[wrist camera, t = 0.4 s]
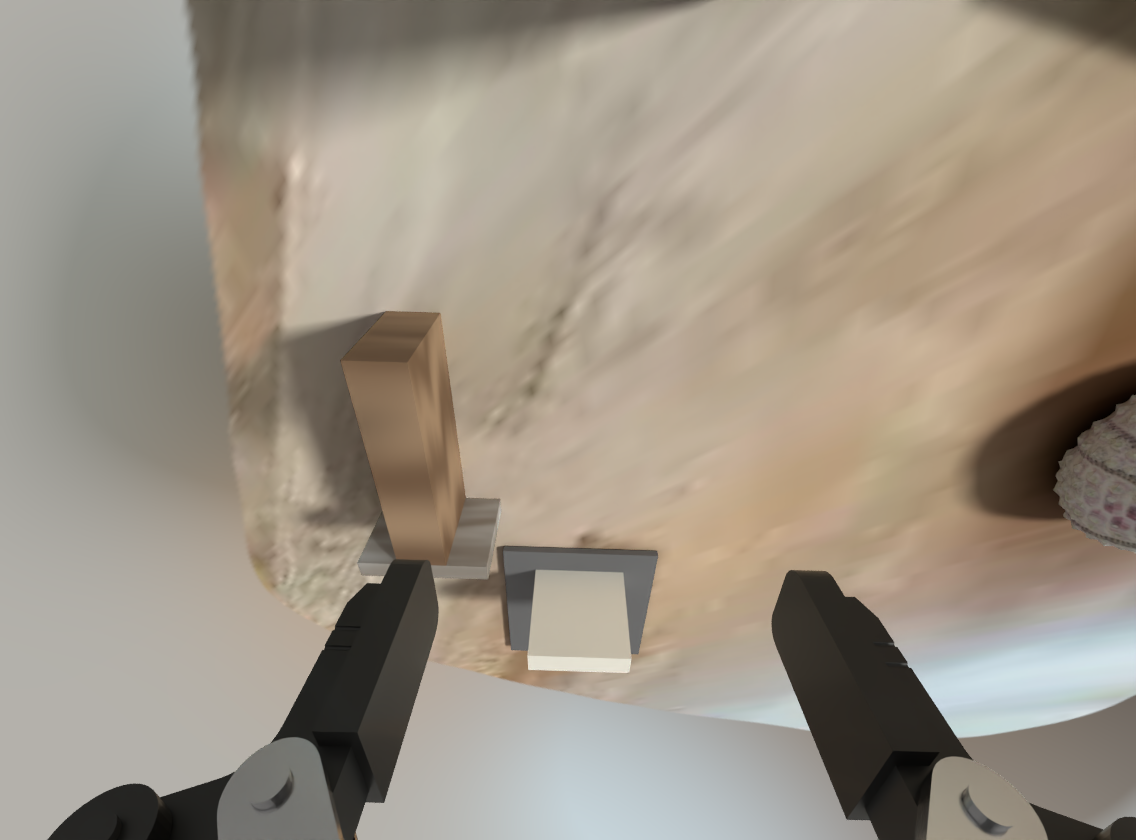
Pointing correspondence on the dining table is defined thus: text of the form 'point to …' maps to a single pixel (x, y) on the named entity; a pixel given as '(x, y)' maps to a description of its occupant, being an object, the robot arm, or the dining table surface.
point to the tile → (579, 622)
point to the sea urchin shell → (1103, 480)
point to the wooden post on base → (416, 452)
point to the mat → (529, 559)
